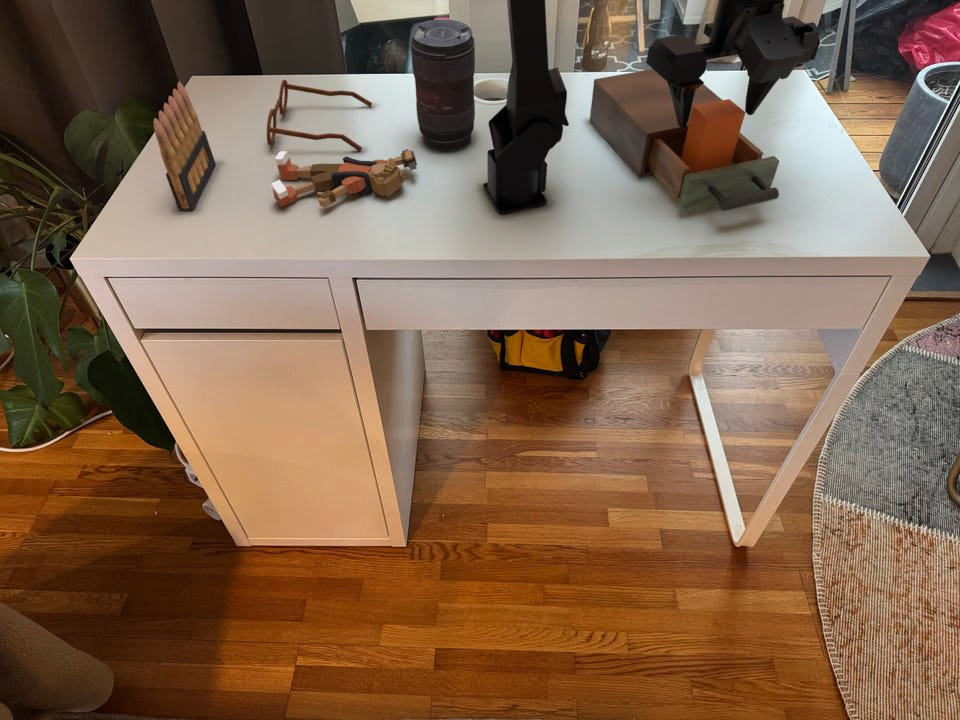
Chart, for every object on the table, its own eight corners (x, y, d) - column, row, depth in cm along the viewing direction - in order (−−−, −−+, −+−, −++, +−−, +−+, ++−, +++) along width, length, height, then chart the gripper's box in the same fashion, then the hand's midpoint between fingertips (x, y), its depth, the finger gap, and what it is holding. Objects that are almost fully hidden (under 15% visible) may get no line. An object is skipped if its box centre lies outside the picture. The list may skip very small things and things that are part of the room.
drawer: (789, 213, 85) (802, 179, 82) (700, 234, 83) (710, 200, 79) (707, 137, 97) (715, 105, 94) (627, 153, 95) (632, 121, 91)
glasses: (286, 106, 106) (278, 74, 102) (372, 105, 106) (368, 73, 102) (268, 153, 97) (259, 120, 93) (362, 153, 97) (357, 119, 93)
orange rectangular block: (692, 182, 88) (708, 119, 82) (678, 168, 90) (692, 105, 84) (727, 175, 89) (745, 112, 83) (712, 160, 91) (729, 98, 85)
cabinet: (728, 159, 95) (740, 115, 90) (639, 178, 92) (647, 133, 88) (671, 106, 105) (679, 63, 100) (589, 121, 102) (594, 79, 97)
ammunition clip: (202, 164, 96) (173, 78, 87) (216, 164, 96) (188, 78, 87) (178, 211, 88) (144, 122, 80) (193, 211, 88) (160, 122, 79)
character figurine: (286, 137, 94) (417, 131, 90) (298, 169, 97) (424, 165, 94) (255, 188, 86) (397, 185, 83) (269, 222, 89) (405, 219, 86)
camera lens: (417, 156, 96) (408, 46, 85) (419, 125, 102) (410, 18, 91) (476, 154, 97) (475, 44, 85) (475, 124, 102) (473, 17, 91)
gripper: (714, 24, 66) (680, 170, 77) (879, -3, 70) (823, 139, 81) (656, -18, 73) (633, 121, 85) (809, -40, 77) (767, 95, 89)
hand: (715, 120), depth 85 cm, fingers open, 9 cm apart
